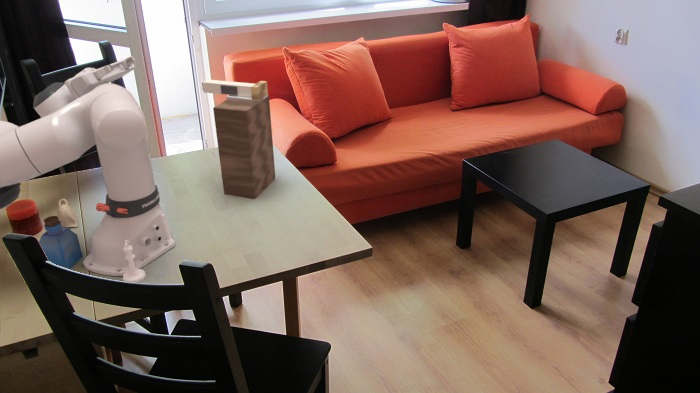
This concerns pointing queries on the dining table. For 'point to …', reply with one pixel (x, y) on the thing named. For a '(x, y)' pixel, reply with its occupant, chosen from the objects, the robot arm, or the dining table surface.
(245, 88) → the bar
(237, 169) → the wooden block tower
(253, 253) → the dining table surface
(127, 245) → the chess piece
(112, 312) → the dining table surface
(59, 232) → the perfume bottle
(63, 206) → the decorative ornament
